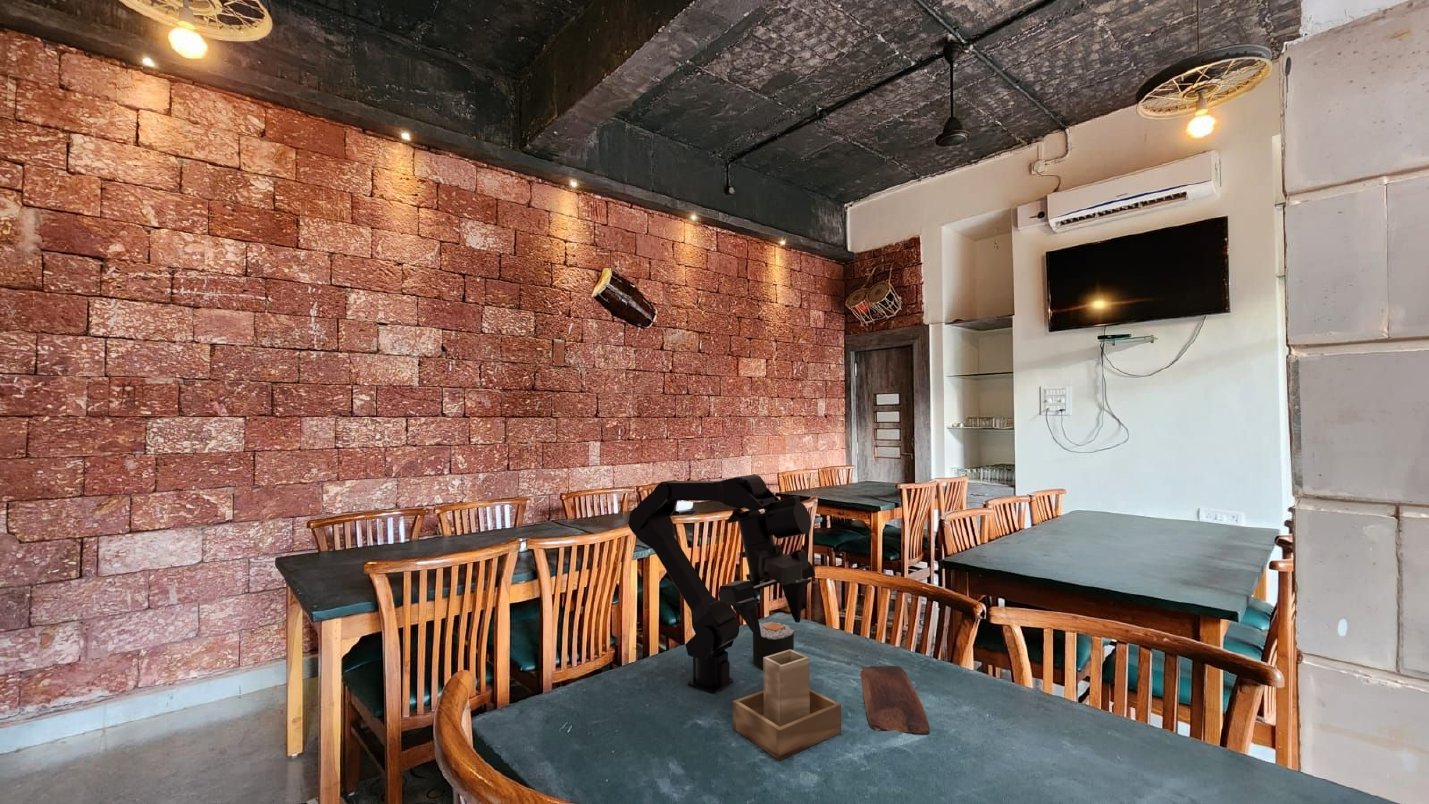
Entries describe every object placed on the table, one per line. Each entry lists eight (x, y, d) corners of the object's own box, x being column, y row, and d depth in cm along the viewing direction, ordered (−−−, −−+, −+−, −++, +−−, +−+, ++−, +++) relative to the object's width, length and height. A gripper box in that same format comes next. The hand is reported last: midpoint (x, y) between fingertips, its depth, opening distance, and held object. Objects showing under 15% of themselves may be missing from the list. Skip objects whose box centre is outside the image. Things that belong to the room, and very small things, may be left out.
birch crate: (763, 725, 96) (763, 657, 97) (791, 714, 100) (790, 649, 100) (782, 737, 93) (781, 666, 93) (809, 726, 96) (809, 657, 96)
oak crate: (733, 728, 97) (732, 701, 97) (792, 705, 105) (792, 679, 105) (779, 761, 88) (779, 730, 88) (841, 732, 95) (841, 704, 96)
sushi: (771, 653, 128) (771, 616, 129) (801, 664, 122) (801, 626, 122) (745, 663, 123) (745, 625, 123) (775, 676, 117) (775, 635, 117)
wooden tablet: (858, 659, 122) (907, 657, 120) (859, 670, 122) (909, 668, 120) (867, 725, 96) (931, 723, 94) (869, 739, 96) (933, 737, 94)
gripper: (743, 551, 97) (765, 649, 94) (824, 528, 107) (846, 616, 104) (708, 555, 105) (727, 645, 103) (786, 533, 116) (805, 614, 113)
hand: (778, 630), depth 106 cm, fingers open, 9 cm apart
